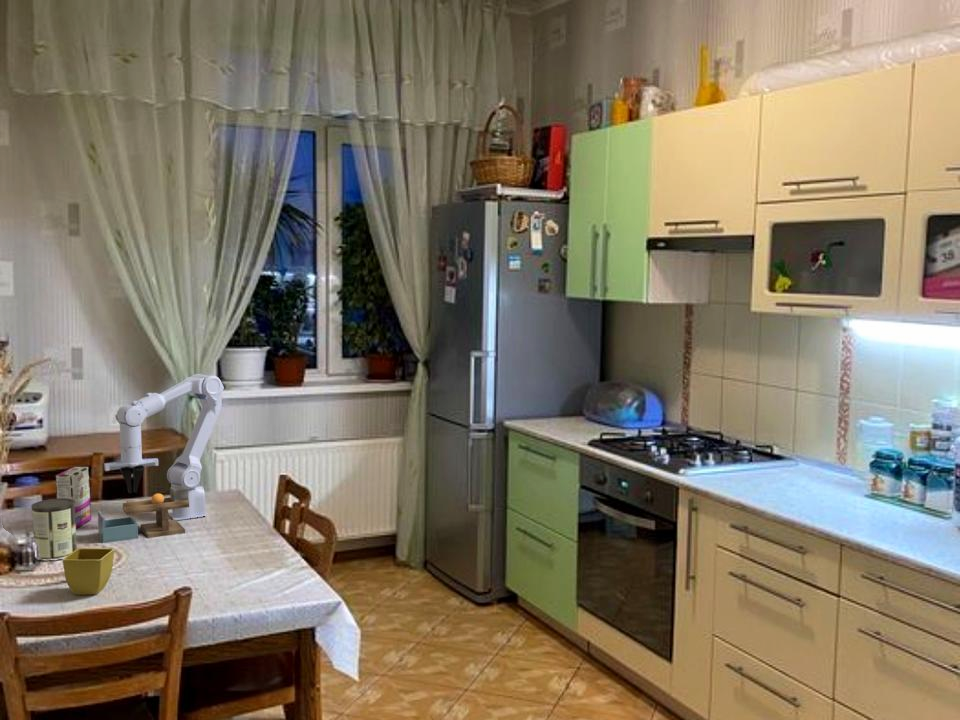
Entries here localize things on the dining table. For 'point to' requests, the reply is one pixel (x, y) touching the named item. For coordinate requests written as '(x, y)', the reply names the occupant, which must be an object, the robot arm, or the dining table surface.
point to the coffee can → (54, 527)
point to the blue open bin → (117, 528)
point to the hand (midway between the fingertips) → (132, 492)
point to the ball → (157, 498)
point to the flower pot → (88, 569)
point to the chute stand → (162, 525)
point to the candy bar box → (76, 492)
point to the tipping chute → (173, 502)
